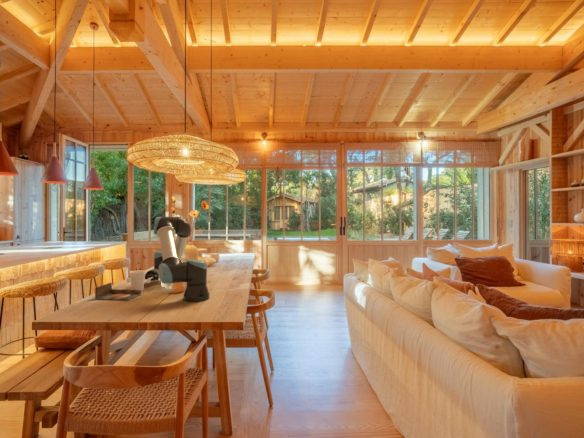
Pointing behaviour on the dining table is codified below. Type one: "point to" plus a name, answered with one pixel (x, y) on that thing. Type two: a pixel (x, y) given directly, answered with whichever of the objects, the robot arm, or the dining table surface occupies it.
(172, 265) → the robot arm
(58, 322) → the dining table surface
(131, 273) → the foam cup
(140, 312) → the dining table surface
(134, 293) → the wooden-edged grey tray
